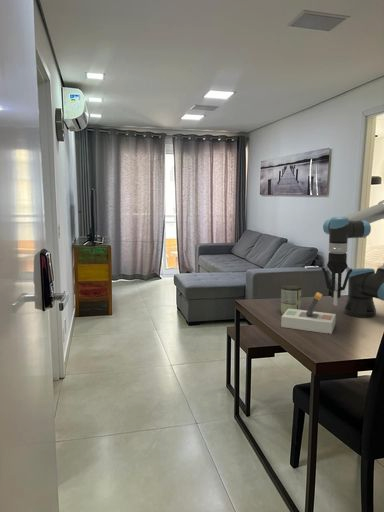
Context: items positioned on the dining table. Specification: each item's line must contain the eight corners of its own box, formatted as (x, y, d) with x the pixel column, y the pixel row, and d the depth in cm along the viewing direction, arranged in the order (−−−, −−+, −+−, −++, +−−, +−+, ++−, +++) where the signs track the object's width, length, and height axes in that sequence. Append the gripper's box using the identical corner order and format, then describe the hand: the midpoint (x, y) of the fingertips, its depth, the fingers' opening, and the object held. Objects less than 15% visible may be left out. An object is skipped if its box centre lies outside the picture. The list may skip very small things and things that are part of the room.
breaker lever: (312, 313, 179) (322, 294, 176) (310, 317, 174) (320, 297, 171) (307, 311, 180) (317, 291, 176) (305, 314, 175) (315, 294, 172)
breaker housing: (335, 324, 179) (335, 313, 178) (331, 333, 167) (331, 322, 166) (288, 318, 189) (288, 308, 188) (281, 326, 176) (281, 316, 176)
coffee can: (279, 309, 204) (279, 283, 201) (299, 309, 203) (299, 283, 200) (281, 315, 193) (282, 288, 191) (302, 315, 192) (303, 288, 190)
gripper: (320, 252, 167) (318, 305, 170) (353, 254, 161) (350, 308, 165) (323, 250, 173) (321, 301, 177) (354, 252, 168) (351, 304, 171)
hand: (335, 304), depth 171 cm, fingers closed
